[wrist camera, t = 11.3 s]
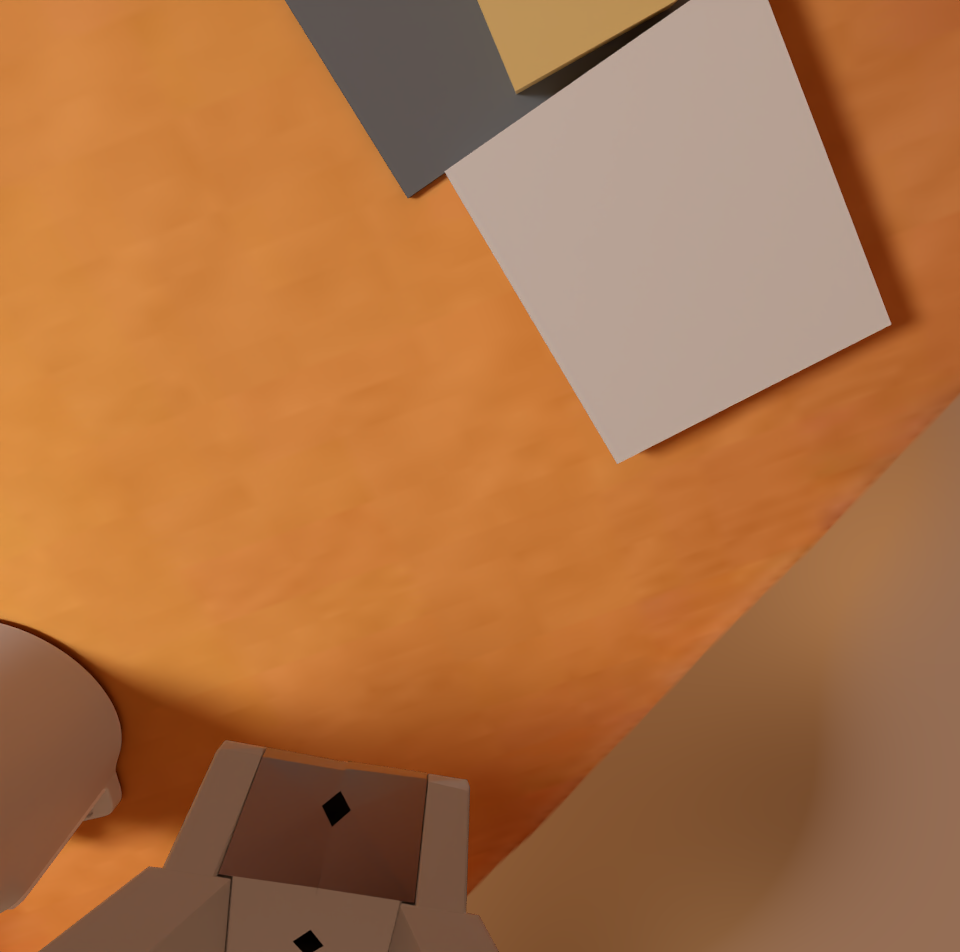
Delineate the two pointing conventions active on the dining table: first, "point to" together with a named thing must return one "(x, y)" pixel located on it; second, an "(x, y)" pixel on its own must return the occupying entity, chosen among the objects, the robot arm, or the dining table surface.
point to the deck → (676, 225)
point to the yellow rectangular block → (558, 31)
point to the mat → (429, 76)
